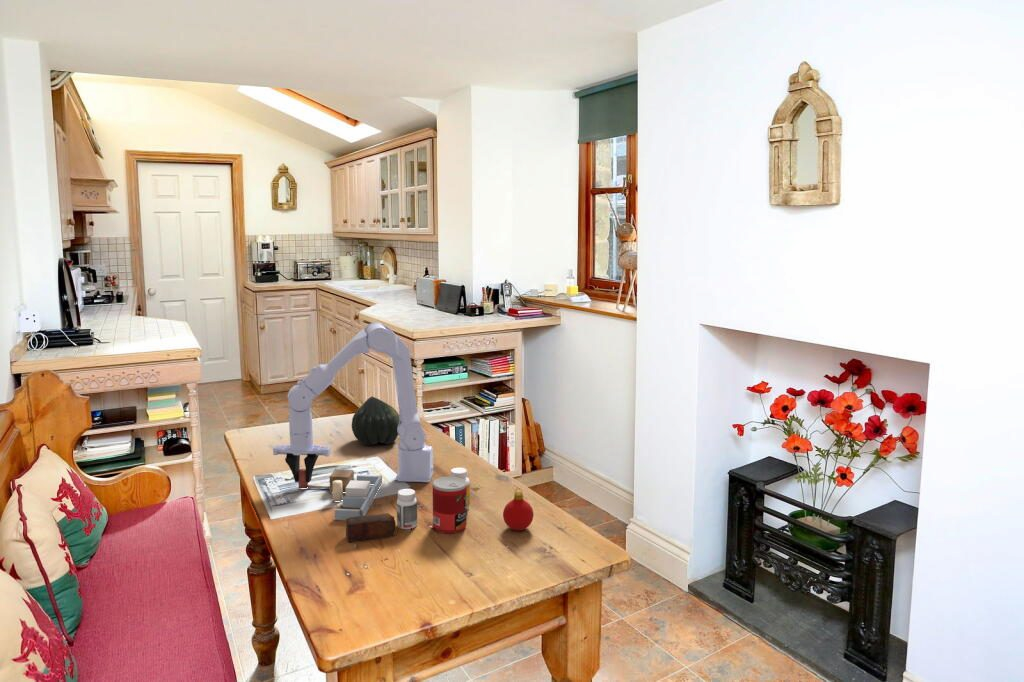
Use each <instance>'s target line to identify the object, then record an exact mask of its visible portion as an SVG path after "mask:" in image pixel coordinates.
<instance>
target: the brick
mask: <svg viewBox="0 0 1024 682" xmlns="http://www.w3.org/2000/svg"><path fill="white" fill-rule="evenodd" d="M396 527H397V522H396V520H395V516H393V515H391V514H390V513H388V512H387V513H386V512H384V513H379V514H378V513H377V514H369V515H365V516H358V517H350V518H347V519H346V520H345V536H346V539H347V542H348V543H349V544H352V543H358V542H367V541H373V540H374V541H375V540H380V539H388V538H393V537H394V536H395V533H396V531H397V530H396V529H397V528H396Z"/></svg>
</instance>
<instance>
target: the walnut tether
mask: <svg viewBox="0 0 1024 682" xmlns="http://www.w3.org/2000/svg"><path fill="white" fill-rule="evenodd" d="M335 480H341V481H342V492H346V489H345V488H346V486H347V485H348V483H349V482H350V480H355V472H354V469H339V468H338V469H336V468H335V469H334V470H333V471H332V473H330V476H329V485H312V484H311V485H309V483H306V468H305V467H301V468H300V469H299V470H298V482H297V483H298V489H299V488H307V487H308V489H320V488H328V489H327V490H329V493H330V492H333V484H332V482H333V481H335ZM329 488H330V489H329Z"/></svg>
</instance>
